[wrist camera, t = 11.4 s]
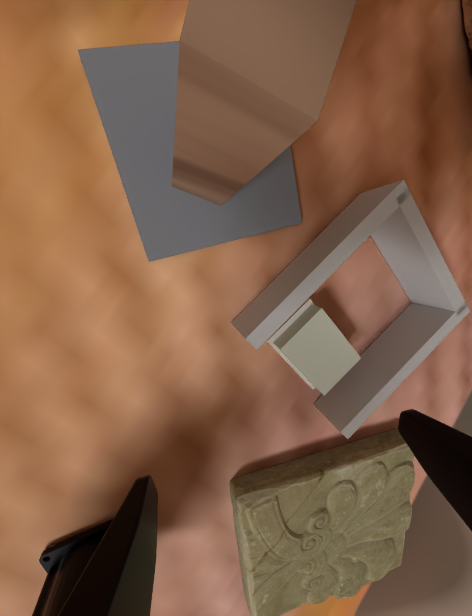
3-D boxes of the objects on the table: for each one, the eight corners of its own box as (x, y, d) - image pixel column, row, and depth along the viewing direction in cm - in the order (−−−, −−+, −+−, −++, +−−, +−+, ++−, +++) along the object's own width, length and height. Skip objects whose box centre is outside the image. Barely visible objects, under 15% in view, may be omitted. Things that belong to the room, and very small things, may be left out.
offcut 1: (304, 381, 24) (313, 389, 23) (260, 335, 22) (267, 340, 20) (340, 345, 24) (351, 351, 23) (300, 296, 22) (310, 299, 20)
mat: (149, 261, 17) (148, 261, 17) (80, 55, 14) (77, 49, 14) (299, 223, 20) (302, 222, 19) (270, 38, 16) (273, 33, 16)
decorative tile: (227, 473, 24) (237, 510, 20) (395, 423, 29) (425, 445, 25) (240, 604, 28) (250, 652, 25) (383, 541, 33) (407, 574, 30)
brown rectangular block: (220, 205, 17) (318, 121, 6) (171, 186, 16) (179, 39, 5) (246, 117, 17) (411, -167, 5) (196, 90, 16) (271, -337, 4)
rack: (320, 410, 24) (347, 439, 21) (230, 322, 20) (245, 338, 16) (424, 302, 25) (470, 311, 21) (360, 192, 21) (403, 179, 17)
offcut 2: (314, 386, 23) (324, 395, 21) (272, 342, 20) (280, 349, 19) (349, 351, 23) (361, 358, 21) (311, 304, 21) (321, 307, 19)
